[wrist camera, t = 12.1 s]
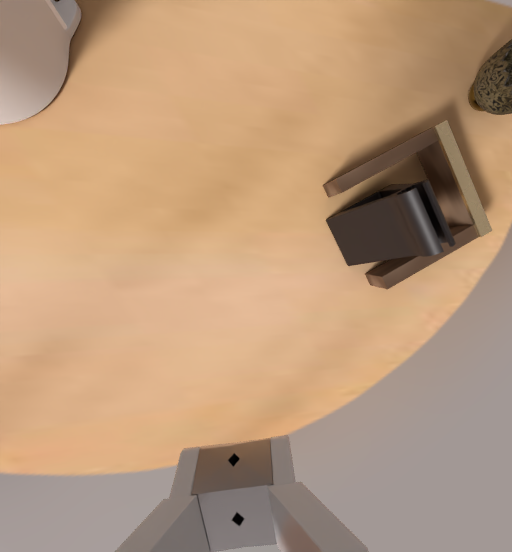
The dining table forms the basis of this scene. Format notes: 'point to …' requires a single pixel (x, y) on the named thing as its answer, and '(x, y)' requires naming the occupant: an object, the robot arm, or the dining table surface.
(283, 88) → the dining table surface
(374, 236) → the phone stand
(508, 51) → the cup
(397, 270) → the frame
